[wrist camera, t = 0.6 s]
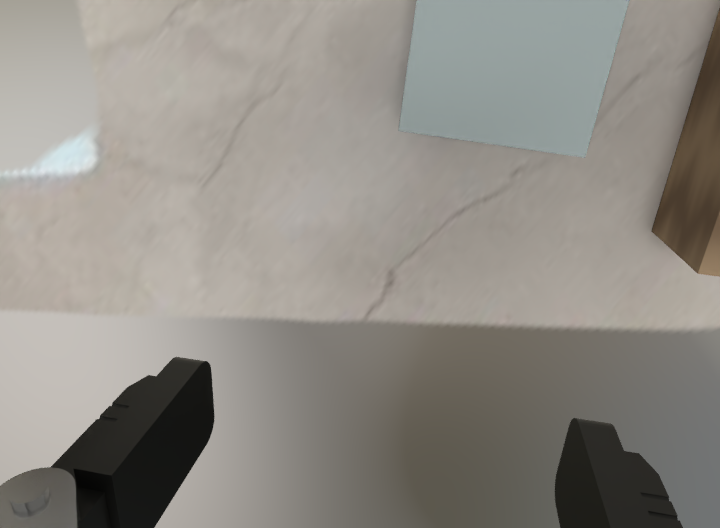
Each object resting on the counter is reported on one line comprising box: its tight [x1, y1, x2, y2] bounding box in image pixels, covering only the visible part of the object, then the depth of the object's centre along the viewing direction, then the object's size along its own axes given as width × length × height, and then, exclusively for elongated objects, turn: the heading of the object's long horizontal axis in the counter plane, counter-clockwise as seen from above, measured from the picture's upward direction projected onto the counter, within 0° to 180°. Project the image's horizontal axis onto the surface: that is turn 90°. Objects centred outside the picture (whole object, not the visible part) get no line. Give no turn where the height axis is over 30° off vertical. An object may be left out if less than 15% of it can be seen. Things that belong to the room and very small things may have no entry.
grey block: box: [398, 0, 629, 158], centre depth 29 cm, size 8×10×5 cm
